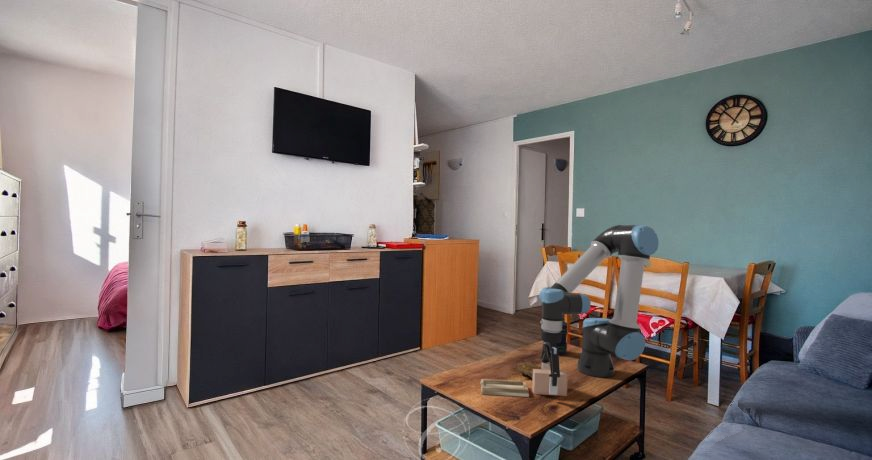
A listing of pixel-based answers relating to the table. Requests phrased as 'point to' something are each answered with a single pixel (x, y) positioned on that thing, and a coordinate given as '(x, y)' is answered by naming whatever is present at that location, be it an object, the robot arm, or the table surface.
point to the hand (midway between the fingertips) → (548, 386)
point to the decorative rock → (527, 368)
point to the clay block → (548, 382)
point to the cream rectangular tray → (504, 387)
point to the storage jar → (563, 340)
